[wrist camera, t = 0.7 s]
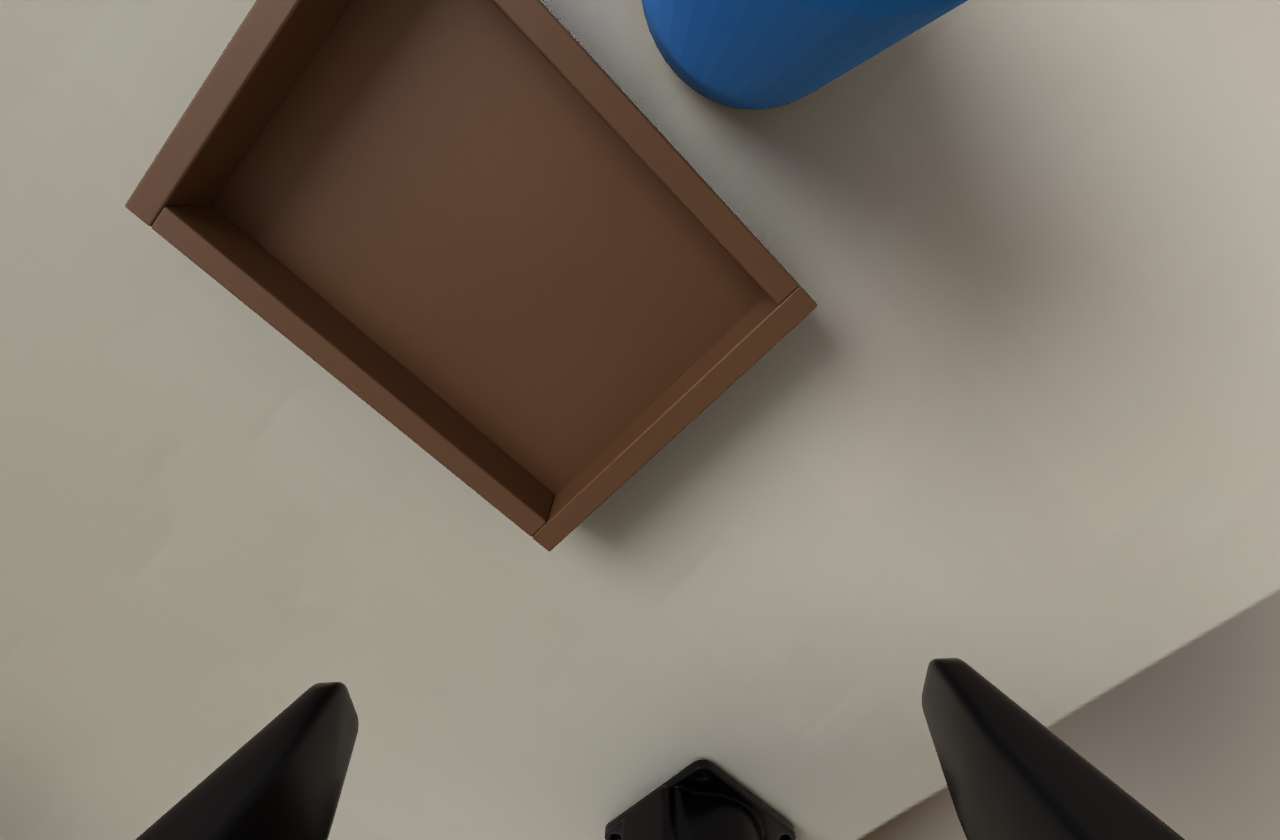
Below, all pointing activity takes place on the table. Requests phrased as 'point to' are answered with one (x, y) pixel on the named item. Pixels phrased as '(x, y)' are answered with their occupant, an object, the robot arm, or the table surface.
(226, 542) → the table surface
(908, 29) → the beverage can
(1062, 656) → the table surface
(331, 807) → the robot arm
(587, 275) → the tray
